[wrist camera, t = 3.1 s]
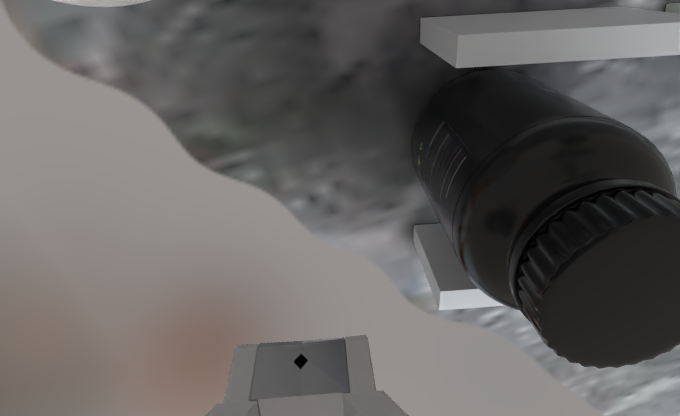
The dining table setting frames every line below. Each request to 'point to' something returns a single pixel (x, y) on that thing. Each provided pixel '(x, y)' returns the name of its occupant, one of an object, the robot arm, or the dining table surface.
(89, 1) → the white cup
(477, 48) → the channel
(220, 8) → the dining table surface
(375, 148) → the dining table surface
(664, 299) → the supplement bottle
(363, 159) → the dining table surface
